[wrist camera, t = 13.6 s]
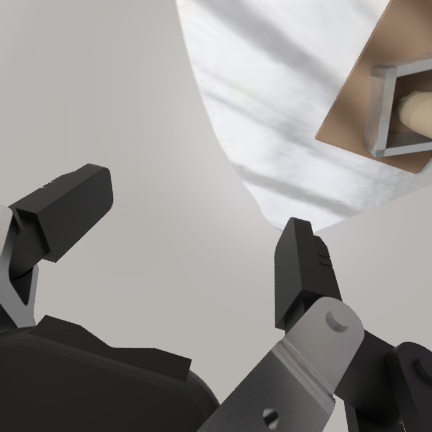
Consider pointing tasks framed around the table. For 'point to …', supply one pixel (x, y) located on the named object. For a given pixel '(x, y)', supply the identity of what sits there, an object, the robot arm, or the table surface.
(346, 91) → the walnut board
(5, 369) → the robot arm
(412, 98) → the handle
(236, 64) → the table surface
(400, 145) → the collar
